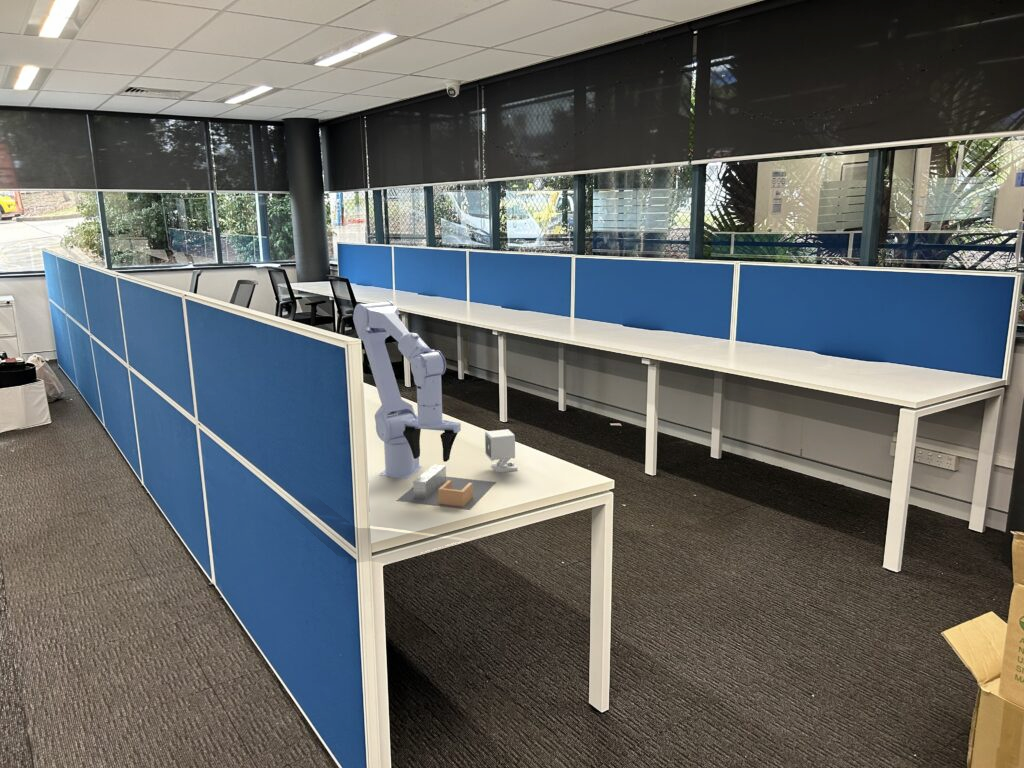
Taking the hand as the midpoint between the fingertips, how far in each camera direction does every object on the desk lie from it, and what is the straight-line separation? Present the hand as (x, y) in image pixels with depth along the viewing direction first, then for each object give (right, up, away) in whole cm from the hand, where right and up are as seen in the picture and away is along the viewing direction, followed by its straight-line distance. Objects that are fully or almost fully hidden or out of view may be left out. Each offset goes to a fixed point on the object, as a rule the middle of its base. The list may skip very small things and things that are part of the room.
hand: (431, 458), depth 176 cm
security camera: (+16, -5, +15) cm, 23 cm away
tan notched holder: (+6, -9, -6) cm, 13 cm away
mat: (+4, -8, 0) cm, 9 cm away
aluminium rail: (0, -7, +1) cm, 7 cm away
